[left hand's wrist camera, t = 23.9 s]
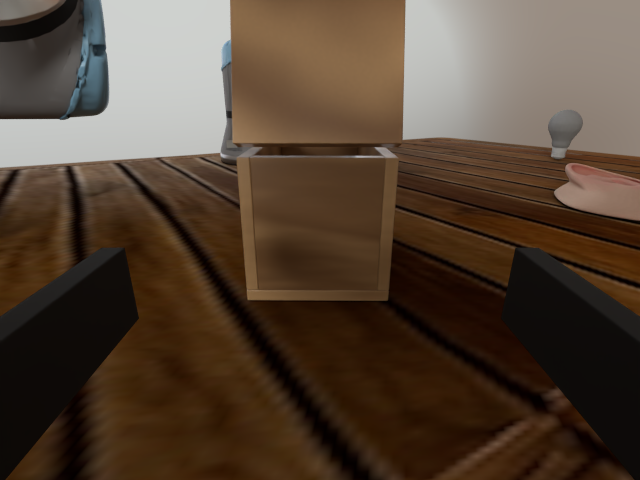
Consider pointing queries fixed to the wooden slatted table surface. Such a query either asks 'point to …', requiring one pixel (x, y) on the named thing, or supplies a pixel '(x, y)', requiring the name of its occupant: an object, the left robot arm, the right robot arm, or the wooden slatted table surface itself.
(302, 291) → the chest
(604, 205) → the anatomical model
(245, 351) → the wooden slatted table surface
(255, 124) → the lid
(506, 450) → the wooden slatted table surface
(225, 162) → the right robot arm
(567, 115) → the light bulb
